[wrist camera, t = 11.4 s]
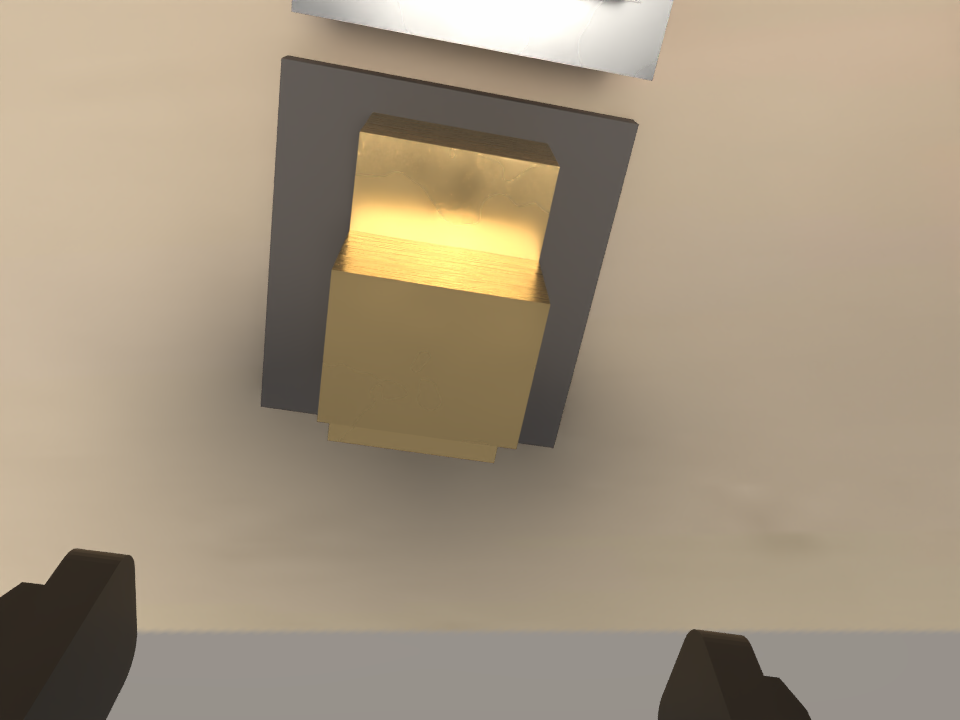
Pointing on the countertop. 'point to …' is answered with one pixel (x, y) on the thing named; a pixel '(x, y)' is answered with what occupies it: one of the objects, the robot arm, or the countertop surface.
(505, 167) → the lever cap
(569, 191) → the rubber mat
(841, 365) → the countertop surface
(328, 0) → the grey block holder tray
